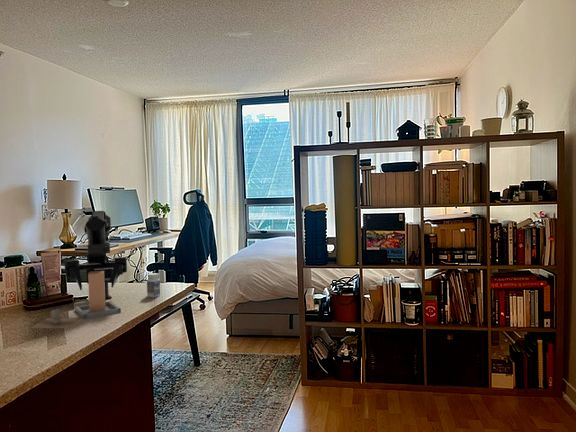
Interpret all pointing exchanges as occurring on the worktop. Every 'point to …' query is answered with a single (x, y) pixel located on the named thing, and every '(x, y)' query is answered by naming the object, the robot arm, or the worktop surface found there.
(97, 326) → the worktop surface
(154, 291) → the pill bottle
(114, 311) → the tray
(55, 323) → the peg on square base
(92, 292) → the tan rectangular prism
